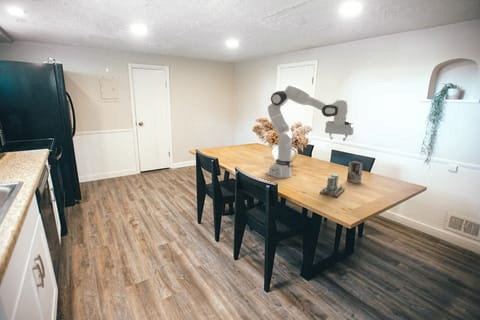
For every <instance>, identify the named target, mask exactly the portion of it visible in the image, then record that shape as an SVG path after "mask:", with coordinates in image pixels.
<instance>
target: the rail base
mask: <svg viewBox="0 0 480 320" xmlns="http://www.w3.org/2000/svg"><path fill="white" fill-rule="evenodd" d="M335 179H336V177H331V175H330V176H328V177H327V184H326V186H325V187H324V188H323V189H322V190H320V191H319V194H320V195H323V196H327V197H332V198H335V199H337V198H339V197H340V195H342V193H344V191H345V188H344V187H343V185H341V184H340V185H339V186H337V189H336V190H335V191H334V187H335Z"/></svg>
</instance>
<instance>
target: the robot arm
mask: <svg viewBox="0 0 480 320" xmlns="http://www.w3.org/2000/svg"><path fill="white" fill-rule="evenodd" d="M270 96H271V97H270V102H271V103H270V104H269V105H268V107H267V111H268V112H267V113H268V116H269V118H270V120H271V123H272V125H273V128H274V129H275V130H276V132H277V134H278V137H277V139H278V140H277V143H278V144H277V145H278V154H277V159H275V163H273V164H272V165H270V167H269V168H268V170H267V171H266V174H265V175H269V176H271V177H275V178H277V179H281V178H282V179H283V178H284V179H285V178H291V177H293V174H292V149H293V148H292V143H293V142H292V141H293V139H294V134H293V132H292V130H291V128H290V125H289V124H288V122H287V119H286V117H285V114H284V112H283V110H282V106H284V105H285V104H286V103H287V102H288V101H289V100H290V101H293V102H294V103H295V104H299V105H303V106H311V107H313V108H316V109H317V110H319V111H321V114H322V115H323V116H324V117H326V118H329V117H330V118H331V117H333V120H331V121H330V120H328V121H326V122H325V129H324V132H325V133H326V134H329V137H330V138H329V139H330V140H333V138H334V136H333V134H334V135H343V136H344V137H343V138H342V141H343V142H344V141H346V139H347V137H348V136H352V135H354V126H353V124H354V122H353V121H351V120H349V119H348V117H347V116H348V115H347V114H348V111H349V103H348V101H347V100H343V99H336V100H335V101H333V102H328V103H327V102H324V101H322V100H320V99H318V98H315V96H313V95H312V94H310V92H308V91H306V90H305V89H303V88H301V87H300V86H296V85H293V84H290V85H288V86H286V88H285V90H278V91H275V92H274V93H272V94H271V95H270Z"/></svg>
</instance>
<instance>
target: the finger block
mask: <svg viewBox="0 0 480 320" xmlns="http://www.w3.org/2000/svg"><path fill="white" fill-rule="evenodd" d="M330 176H331V177H336V179H335V187H334V191H335V190H336V189H337V187H338V184H339V183H338V182H339V176H340V174H336V173H331V175H330Z"/></svg>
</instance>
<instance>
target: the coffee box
mask: <svg viewBox="0 0 480 320" xmlns="http://www.w3.org/2000/svg"><path fill="white" fill-rule="evenodd" d="M363 167H364V162H360V161H355V160H351V161H348V169H347V176H346V177H347V178H346V181H347V182H352V183H355V184H359V183H361V181H362V175H363Z"/></svg>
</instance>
